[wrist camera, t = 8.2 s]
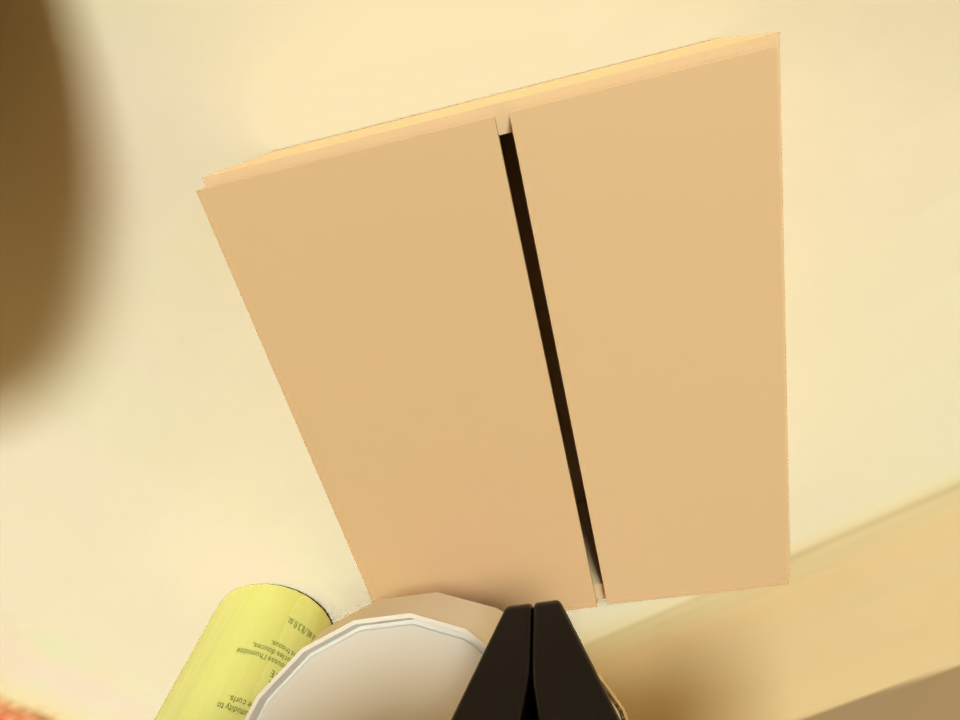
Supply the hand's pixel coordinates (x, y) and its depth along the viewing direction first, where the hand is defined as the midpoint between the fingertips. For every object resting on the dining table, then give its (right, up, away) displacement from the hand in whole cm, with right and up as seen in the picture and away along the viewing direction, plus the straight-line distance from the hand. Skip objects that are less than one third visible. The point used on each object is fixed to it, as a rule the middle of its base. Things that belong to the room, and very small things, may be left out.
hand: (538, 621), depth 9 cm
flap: (+4, +3, +5) cm, 7 cm away
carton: (+1, +5, +10) cm, 11 cm away
